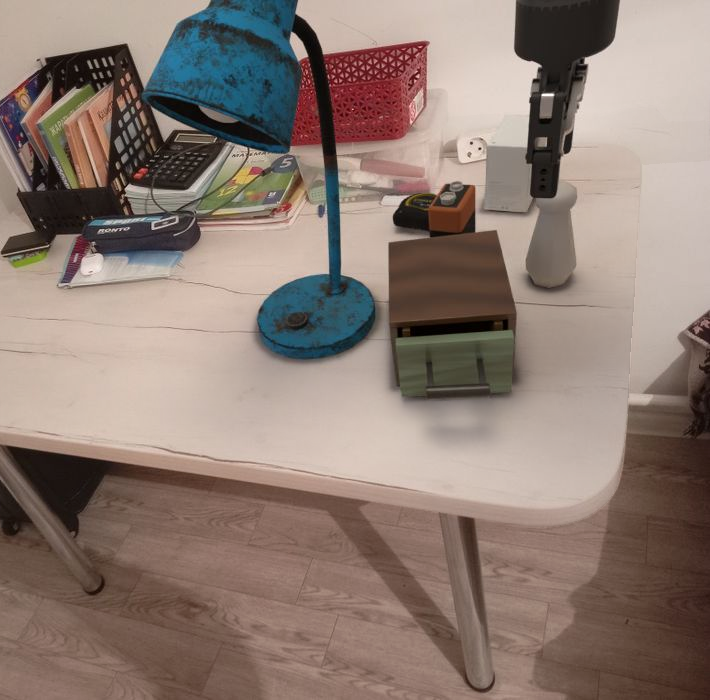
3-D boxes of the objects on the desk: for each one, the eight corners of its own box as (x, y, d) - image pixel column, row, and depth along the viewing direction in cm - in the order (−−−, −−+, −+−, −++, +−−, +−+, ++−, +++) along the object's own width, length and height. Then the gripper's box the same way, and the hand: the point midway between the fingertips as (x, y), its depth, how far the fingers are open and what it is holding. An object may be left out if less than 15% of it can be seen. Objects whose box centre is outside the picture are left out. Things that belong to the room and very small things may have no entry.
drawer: (518, 427, 62) (522, 372, 58) (402, 430, 66) (396, 378, 61) (494, 307, 76) (495, 254, 71) (399, 314, 80) (394, 265, 75)
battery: (430, 264, 87) (426, 201, 81) (446, 238, 91) (444, 176, 85) (461, 268, 85) (460, 204, 79) (476, 241, 89) (476, 177, 82)
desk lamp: (210, 354, 84) (73, -9, 56) (315, 268, 93) (243, -82, 65) (295, 401, 74) (181, -17, 45) (404, 300, 83) (366, -102, 54)
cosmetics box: (528, 213, 91) (533, 146, 84) (483, 210, 94) (484, 145, 87) (544, 178, 97) (550, 112, 90) (501, 176, 100) (503, 113, 93)
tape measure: (391, 232, 96) (389, 210, 93) (412, 209, 99) (411, 188, 97) (432, 239, 92) (431, 217, 89) (453, 215, 95) (452, 193, 93)
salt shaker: (578, 267, 79) (590, 175, 71) (569, 294, 76) (581, 201, 68) (529, 262, 82) (536, 173, 74) (518, 288, 79) (524, 198, 71)
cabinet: (513, 379, 68) (516, 312, 62) (396, 385, 72) (388, 322, 66) (495, 293, 80) (496, 229, 73) (394, 302, 83) (388, 242, 77)
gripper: (612, 10, 43) (585, 215, 53) (631, -48, 51) (604, 138, 61) (497, 22, 46) (493, 211, 57) (533, -34, 55) (523, 139, 65)
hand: (551, 173), depth 59 cm, fingers open, 8 cm apart
